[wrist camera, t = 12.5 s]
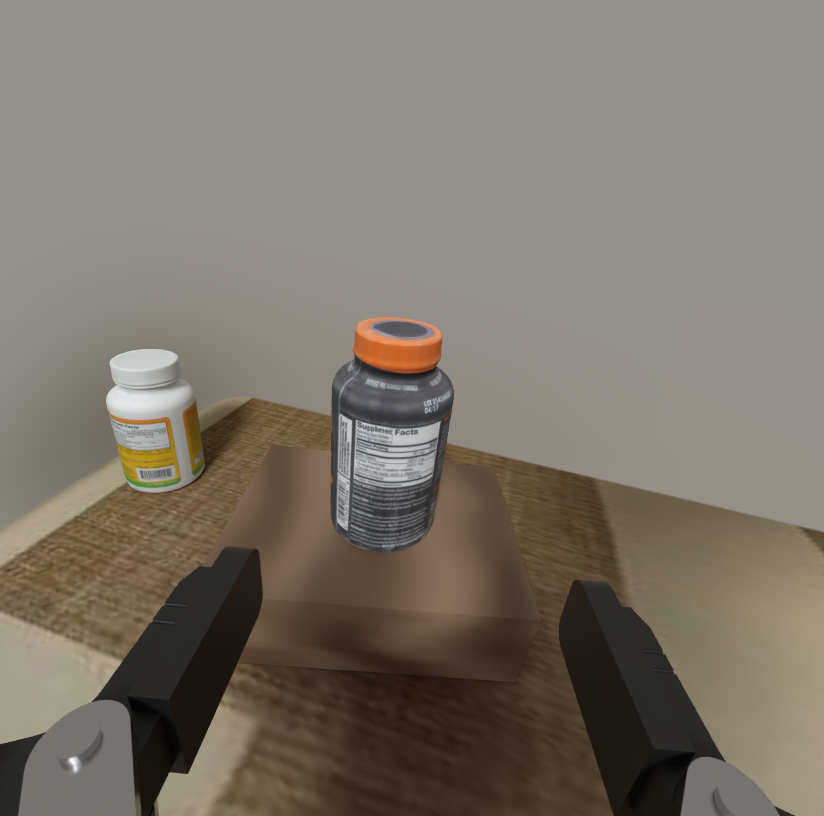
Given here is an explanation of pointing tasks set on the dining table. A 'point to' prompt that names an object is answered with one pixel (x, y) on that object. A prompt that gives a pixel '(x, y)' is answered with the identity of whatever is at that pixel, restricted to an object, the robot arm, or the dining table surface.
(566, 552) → the dining table surface
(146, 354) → the supplement bottle
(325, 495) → the stand
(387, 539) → the pill bottle
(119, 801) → the robot arm
